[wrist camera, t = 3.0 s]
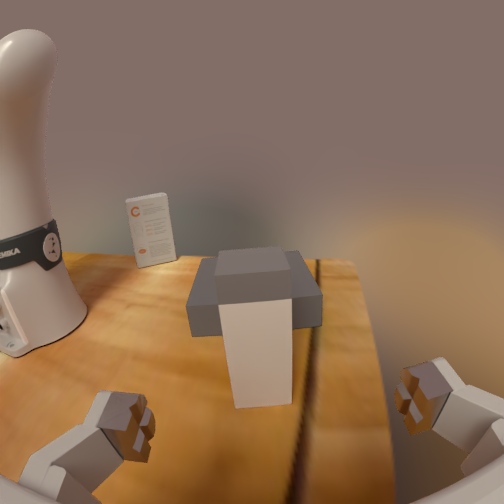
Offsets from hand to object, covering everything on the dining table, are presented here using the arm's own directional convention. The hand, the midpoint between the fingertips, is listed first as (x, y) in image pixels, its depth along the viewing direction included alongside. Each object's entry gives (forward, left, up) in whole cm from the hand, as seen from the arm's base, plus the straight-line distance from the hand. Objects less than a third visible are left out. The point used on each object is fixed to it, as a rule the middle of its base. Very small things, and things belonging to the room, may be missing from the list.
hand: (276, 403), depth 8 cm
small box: (-19, +49, -12) cm, 54 cm away
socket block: (0, +29, -12) cm, 31 cm away
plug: (0, +13, -12) cm, 17 cm away
